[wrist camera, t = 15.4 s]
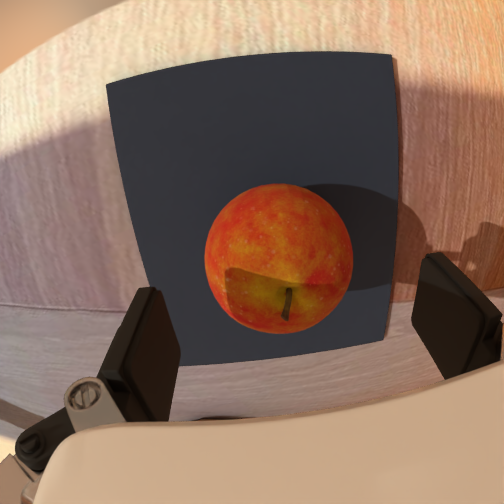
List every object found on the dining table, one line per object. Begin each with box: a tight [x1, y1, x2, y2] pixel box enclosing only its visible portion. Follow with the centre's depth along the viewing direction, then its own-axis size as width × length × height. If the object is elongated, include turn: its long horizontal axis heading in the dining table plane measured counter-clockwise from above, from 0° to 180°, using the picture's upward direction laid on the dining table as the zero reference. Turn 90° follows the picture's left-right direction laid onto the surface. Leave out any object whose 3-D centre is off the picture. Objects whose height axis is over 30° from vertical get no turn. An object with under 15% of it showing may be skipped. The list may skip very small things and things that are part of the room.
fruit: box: [205, 184, 353, 334], centre depth 15 cm, size 7×7×8 cm
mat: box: [106, 51, 399, 366], centre depth 18 cm, size 20×16×1 cm
